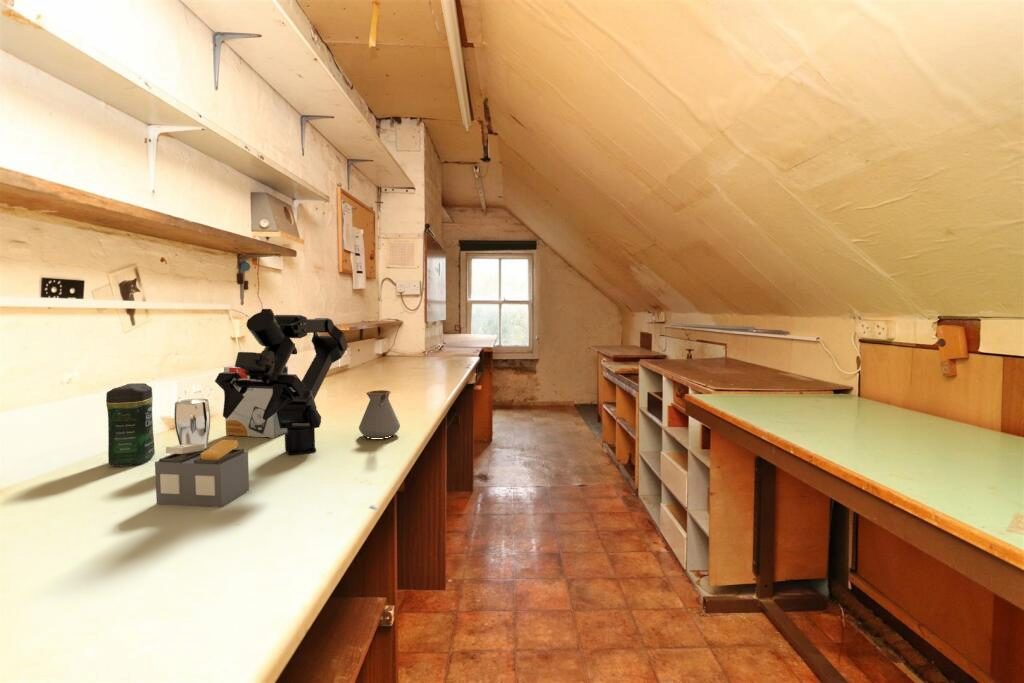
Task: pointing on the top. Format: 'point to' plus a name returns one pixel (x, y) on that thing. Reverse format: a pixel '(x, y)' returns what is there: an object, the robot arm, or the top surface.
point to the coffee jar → (130, 424)
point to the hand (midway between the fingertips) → (244, 418)
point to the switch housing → (201, 479)
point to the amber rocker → (219, 450)
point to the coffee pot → (379, 416)
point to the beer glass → (192, 421)
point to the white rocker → (185, 448)
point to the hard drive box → (252, 412)
